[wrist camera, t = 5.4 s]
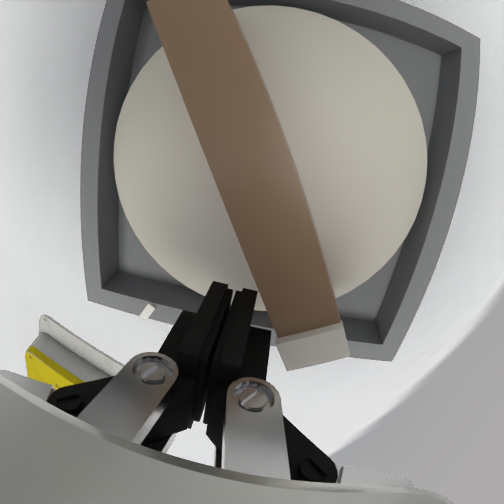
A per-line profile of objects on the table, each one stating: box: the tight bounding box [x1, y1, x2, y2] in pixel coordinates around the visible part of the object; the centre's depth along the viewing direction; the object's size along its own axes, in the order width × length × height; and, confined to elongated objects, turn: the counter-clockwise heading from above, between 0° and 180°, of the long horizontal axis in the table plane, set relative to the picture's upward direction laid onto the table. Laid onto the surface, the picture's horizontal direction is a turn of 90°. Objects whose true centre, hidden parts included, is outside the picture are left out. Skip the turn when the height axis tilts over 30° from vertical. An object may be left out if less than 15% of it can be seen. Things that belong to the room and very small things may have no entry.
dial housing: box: [80, 0, 480, 361], centre depth 12 cm, size 16×16×3 cm
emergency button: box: [25, 315, 125, 389], centre depth 21 cm, size 9×4×15 cm
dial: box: [114, 0, 427, 371], centre depth 10 cm, size 13×13×6 cm
